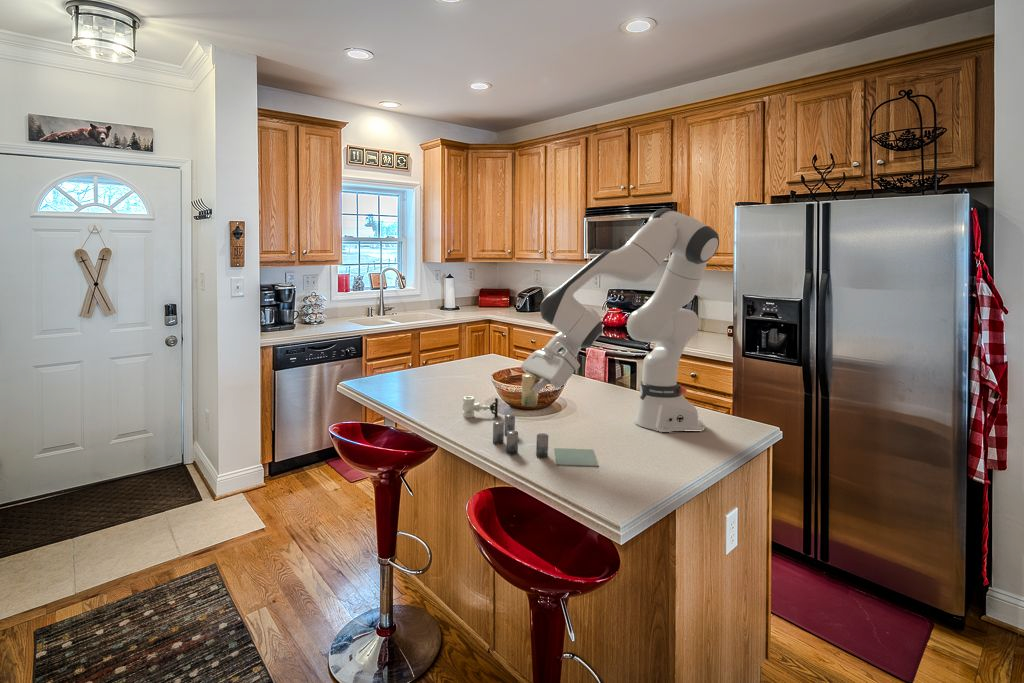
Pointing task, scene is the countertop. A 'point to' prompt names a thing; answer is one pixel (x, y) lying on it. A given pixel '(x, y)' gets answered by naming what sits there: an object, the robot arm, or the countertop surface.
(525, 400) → the gold metal cylinder
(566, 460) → the mat
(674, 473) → the countertop surface
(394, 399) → the countertop surface
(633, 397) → the countertop surface
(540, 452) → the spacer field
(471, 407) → the valve
